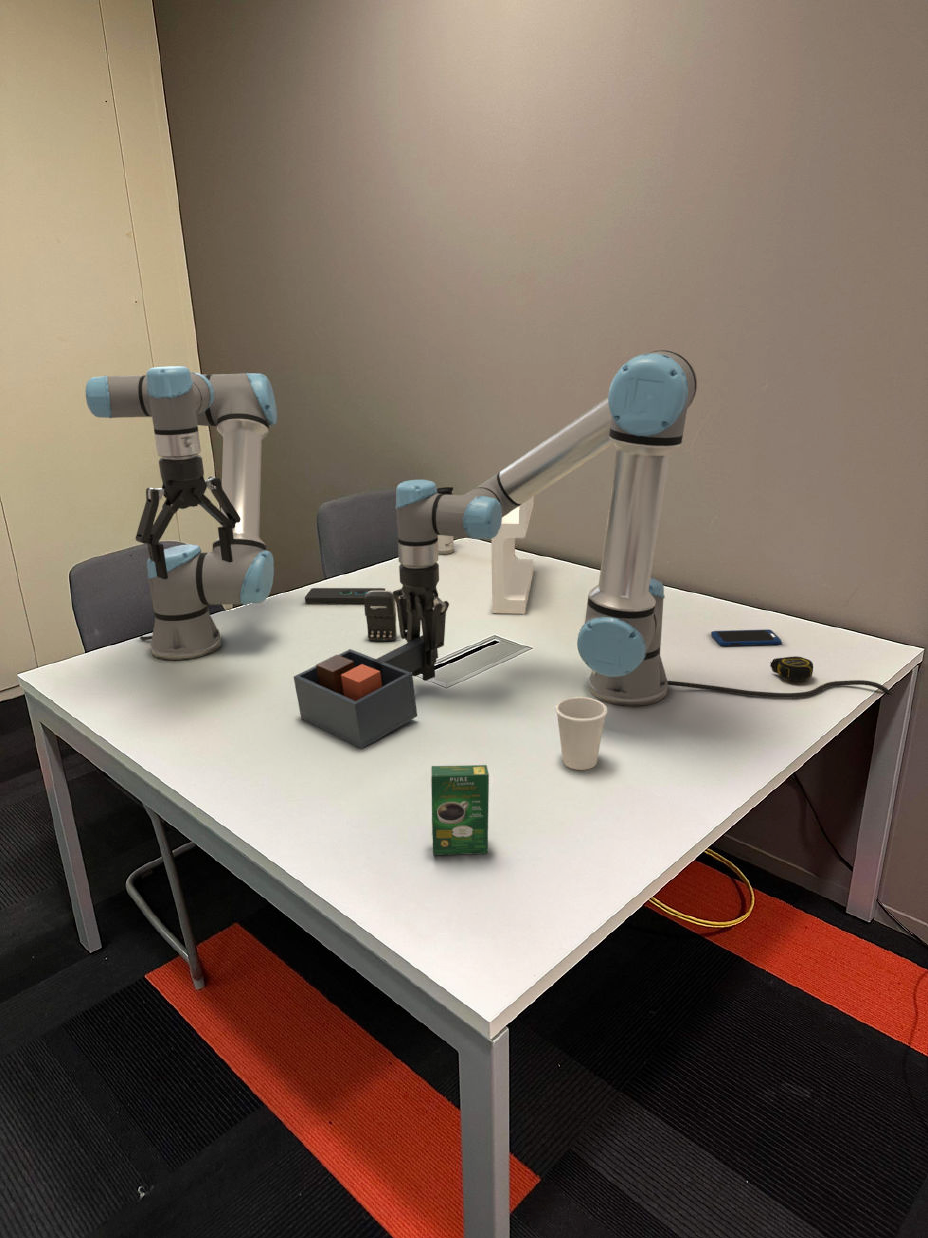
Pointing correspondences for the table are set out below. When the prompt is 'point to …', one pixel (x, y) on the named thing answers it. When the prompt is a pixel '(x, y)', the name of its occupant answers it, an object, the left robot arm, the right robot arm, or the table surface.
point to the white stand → (511, 563)
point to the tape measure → (793, 668)
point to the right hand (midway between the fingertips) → (423, 675)
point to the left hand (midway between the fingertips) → (195, 569)
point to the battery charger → (380, 615)
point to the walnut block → (333, 672)
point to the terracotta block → (360, 682)
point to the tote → (373, 710)
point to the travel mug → (444, 541)
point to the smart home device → (338, 595)
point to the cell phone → (746, 637)
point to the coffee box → (460, 809)
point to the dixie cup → (580, 731)
